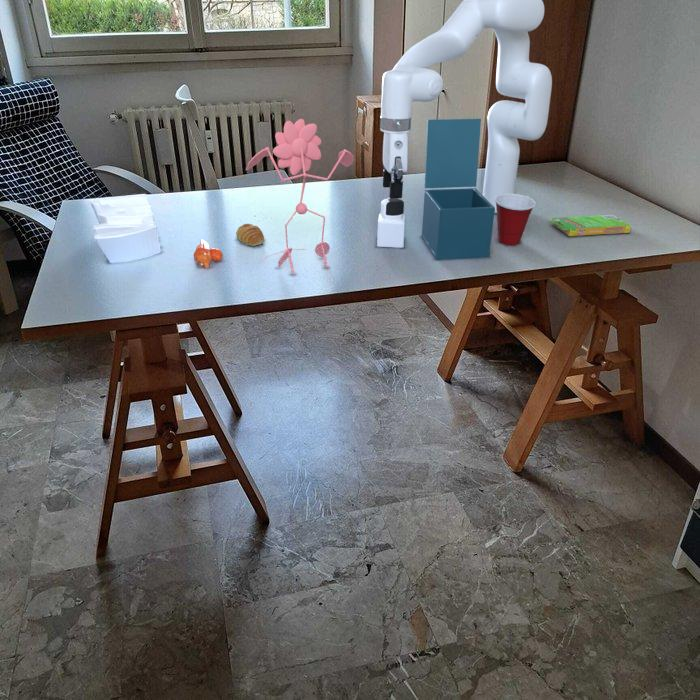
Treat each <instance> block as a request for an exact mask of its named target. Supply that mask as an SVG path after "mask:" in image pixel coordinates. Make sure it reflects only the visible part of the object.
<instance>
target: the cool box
mask: <svg viewBox="0 0 700 700" xmlns="http://www.w3.org/2000/svg"><path fill="white" fill-rule="evenodd" d="M494 212H495V207H494V206H493V205H492V204H491V203H490V202H489V201H488V200H487V199H486V198H485V197H484V196H483V193H481V192H480V191H479V190H478V188H476V187H466V188H435V189H424V197H423V212H422V227H421V238H422V239H423V241H424V243H425V244H426V246H427V248H428V250H430V253H431V254H432V256H433V257H434V259H435V260H437V261H439V260H458V259H481V258H490V253H491V244H492V235H493V228H494V221H495V213H494Z"/></svg>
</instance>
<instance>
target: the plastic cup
mask: <svg viewBox="0 0 700 700" xmlns="http://www.w3.org/2000/svg"><path fill="white" fill-rule="evenodd" d="M527 196H528V195H523V194H521V195H519V193H515V194H510V193H508V194H500V195H497V196H496V197H495V203H496V209H497V213H496V227H497V228H496V229H497V240H498V243H500V244H502V245H504V246H509V247H510V246H512V247H513V246H517V245H519V244H520V243H521V241H522V237H523V234H524V232H525V230H526V226H527V223H528V221H529V217H530V215H531V213H532V211H533V209H534V208H535V207H536V205H537V204H536V201H535V200H534V199H532V197H529V196H528V197H527Z"/></svg>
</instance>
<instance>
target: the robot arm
mask: <svg viewBox="0 0 700 700" xmlns="http://www.w3.org/2000/svg"><path fill="white" fill-rule="evenodd" d="M544 16H545V4H544V2H543V0H462V1H461V3H460V4H459V5H458V6H457V8H456V9H455V10H454V12H453V13H452V14H451V15H450V17H449V18H448V19H447V20H446V22H445V23H444V24H443V25H442V27H441V28H440V29H439V30H437V31H436V32H434V33H432V34H430V35H428V36H426V37H425V38H423V39H422V40H420V41H418V42H417V43H415V44H413V45H412V46H411V47H410V48H408V49H407V50H406V51H405V52H404V54H403V55H402V56H401V57H400V59H399V60H398V61H397V63H396V64H395V65H394V67H393V69H391V70H387V71H385V72H384V73H383V75H382V79H381V80H382V82H381V103H380V104H381V105H380V128H379V130H380V132H382V133H383V141H382V165H383V172H382V187H383V188H389V195H388V196H389V197H388V198H391V199H392V198H397V199H402V198H403V191H404V188H403V187H404V175H403V174H407V173H408V167H409V165H408V164H409V163H408V162H409V136H408V133H410V132H411V129H412V111H413V102H421V103H422V102H423V103H427V102H432V101H434V100H436V99H437V98H438V97H439V96H440V95H441V93H442V91H443V88H444V81H443V77H442V76H441V74H440V73H439V72H438V71H436V70H433V69H431V68H429V67H431V66H434V65H436V64H439V63H443V62H447V61H451V60H454V59H458V58H460V57H462V56H464V55H465V54H466V53H467V52H468V50H469V49H470V48H471V46H472V45H473V43H475V41H476V40H477V38H478V37H479V36H480V35H481V33H482V32H483V31H484V30H485V29H491V30H492V31H493V32H494V34H495V37H496V40H497V60H496V71H495V72H496V73H495V88H496V90H497V92H498V93H499V94H500V95H502V96H504V97H509V98H515V99H519V100H525V102H521V101H516V100H507V99H504V100H498V101H496V102H494V104H492V106H490V108H489V110H488V113H487V138H488V139H487V151H486V160H485V170H484V178H483V187H482V195H483V196H484V197H485V198H486V199H487V200H488V201H489V202H490V203H491V204H492V205H493V206H494V207H495V212H494V214H497V209H496V203H495V197H496V196H497V195H500V194H508V193H510V194H516V192H515V189H516V183H517V175H518V168H519V160H520V155H521V154H520V153H521V150H520V143H519V141H518V139H520V140H526V141H537V140H539V139H540V138H542V136H543V135H544V133H545V131H546V128H547V125H548V119H549V113H550V104H551V96H552V87H553V76H552V73H551V70H550V68H549V67H547V66H546V65H545V64H542V63H537V62H531V61H530V47H531V40H530V35H529V32H532V31H534V30H535V29H537V28H538V27H539V26H540V25H541V23H542V22H543V19H544ZM518 194H519V193H518ZM519 195H522V194H521V193H520V194H519ZM526 196H527V197H529V195H526Z"/></svg>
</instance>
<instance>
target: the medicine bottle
mask: <svg viewBox="0 0 700 700" xmlns="http://www.w3.org/2000/svg"><path fill="white" fill-rule="evenodd" d="M404 210H405V202H404V201H403V200H402V199H401V198H392V199H391V198H390V197H388V198H387V197H386V198H384V199H383V200H381V202H380V212H379V214H378V218H377V233H376V235H377V237H376V247H377V248H394V249H404V248H405V235H406V234H405V232H406V216H407V215H406V214H404V212H405V211H404Z"/></svg>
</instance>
